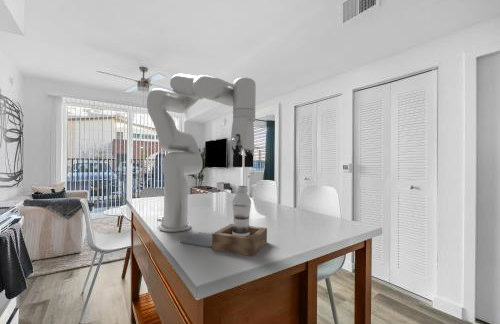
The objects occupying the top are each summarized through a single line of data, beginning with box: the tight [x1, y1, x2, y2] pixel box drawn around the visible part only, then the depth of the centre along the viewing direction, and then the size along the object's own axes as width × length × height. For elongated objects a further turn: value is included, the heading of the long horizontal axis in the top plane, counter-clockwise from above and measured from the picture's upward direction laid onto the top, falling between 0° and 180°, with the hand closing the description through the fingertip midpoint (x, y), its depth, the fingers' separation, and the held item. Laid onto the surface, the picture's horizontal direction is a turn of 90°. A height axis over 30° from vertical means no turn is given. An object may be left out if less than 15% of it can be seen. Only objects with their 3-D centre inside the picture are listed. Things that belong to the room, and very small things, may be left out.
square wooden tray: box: [211, 223, 268, 257], centre depth 81 cm, size 14×14×5 cm
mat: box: [180, 231, 213, 249], centre depth 86 cm, size 12×12×1 cm
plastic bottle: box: [232, 185, 252, 237], centre depth 81 cm, size 6×7×20 cm
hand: (243, 167), depth 81 cm, fingers open, 9 cm apart
